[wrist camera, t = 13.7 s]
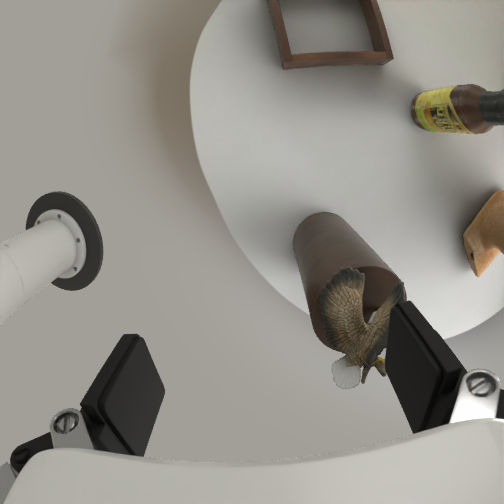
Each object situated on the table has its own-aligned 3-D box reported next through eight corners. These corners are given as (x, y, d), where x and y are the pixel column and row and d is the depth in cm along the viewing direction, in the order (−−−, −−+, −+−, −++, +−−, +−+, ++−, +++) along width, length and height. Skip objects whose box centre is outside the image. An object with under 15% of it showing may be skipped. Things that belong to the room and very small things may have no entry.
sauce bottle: (402, 115, 36) (487, 104, 18) (418, 84, 34) (503, 62, 16) (432, 141, 37) (522, 149, 19) (448, 111, 35) (537, 106, 17)
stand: (297, 274, 46) (315, 360, 27) (289, 216, 43) (307, 274, 24) (353, 265, 45) (402, 342, 26) (350, 208, 42) (409, 258, 23)
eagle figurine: (416, 336, 24) (414, 261, 20) (400, 403, 20) (399, 337, 15) (344, 330, 29) (324, 261, 25) (318, 389, 24) (289, 325, 20)
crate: (283, 69, 35) (284, 62, 32) (264, -9, 31) (264, -21, 27) (383, 65, 34) (393, 58, 30) (361, -11, 29) (368, -22, 26)
